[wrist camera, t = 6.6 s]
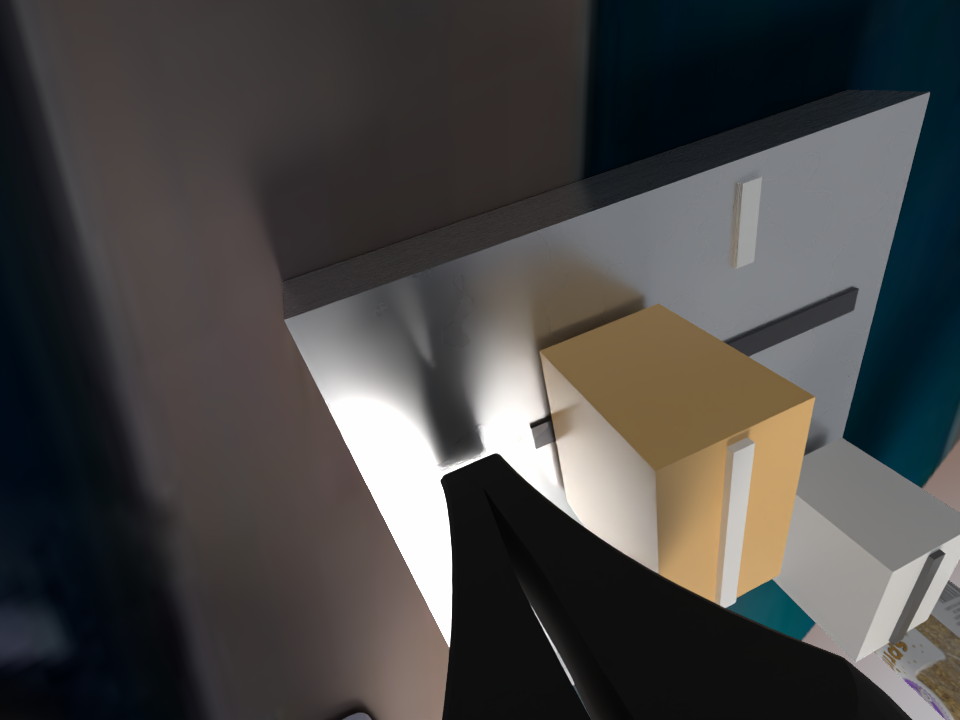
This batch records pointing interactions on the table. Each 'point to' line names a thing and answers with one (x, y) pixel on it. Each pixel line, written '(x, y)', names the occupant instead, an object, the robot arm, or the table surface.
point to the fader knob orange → (678, 449)
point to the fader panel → (606, 299)
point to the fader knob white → (865, 549)
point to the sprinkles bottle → (932, 655)
